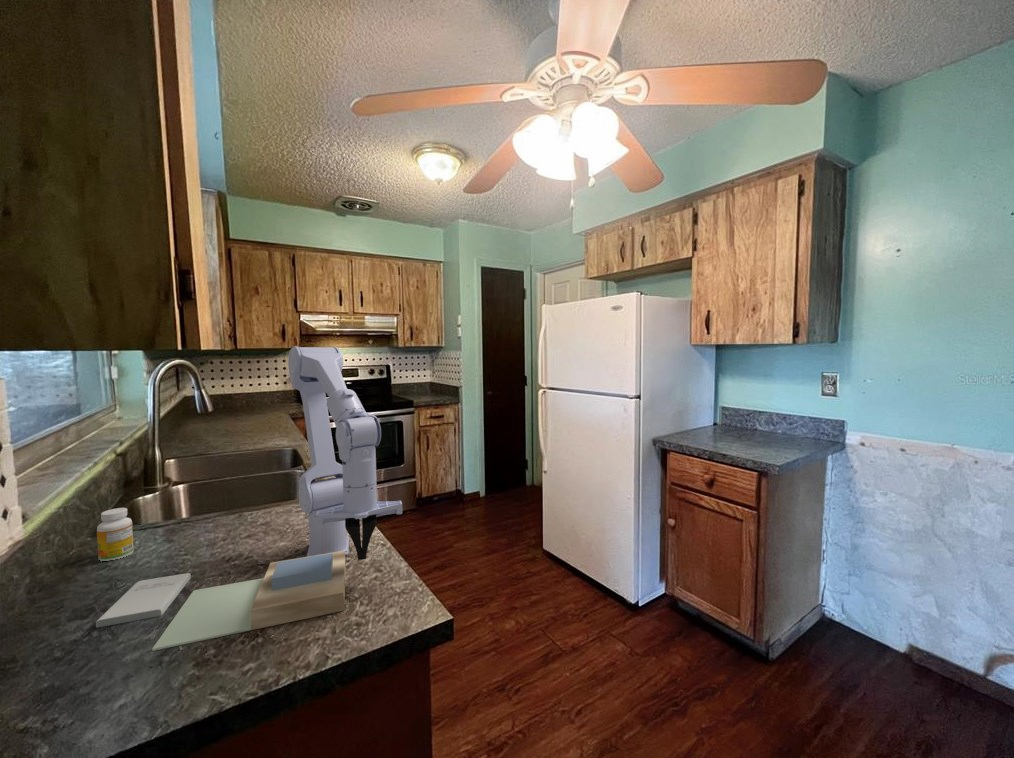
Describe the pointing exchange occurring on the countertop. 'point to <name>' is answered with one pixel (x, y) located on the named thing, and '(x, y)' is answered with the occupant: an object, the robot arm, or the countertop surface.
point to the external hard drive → (145, 600)
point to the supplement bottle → (114, 535)
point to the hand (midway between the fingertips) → (362, 557)
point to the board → (299, 597)
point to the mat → (212, 614)
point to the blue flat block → (302, 571)
